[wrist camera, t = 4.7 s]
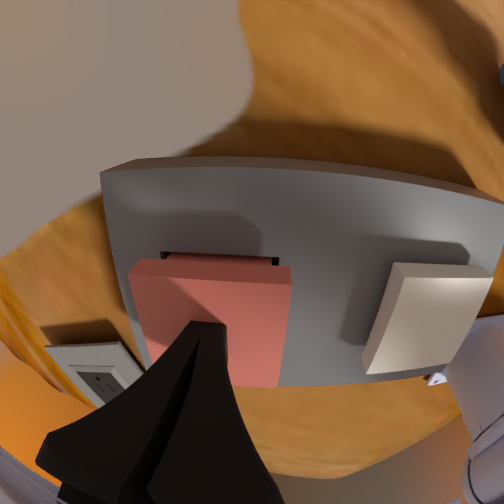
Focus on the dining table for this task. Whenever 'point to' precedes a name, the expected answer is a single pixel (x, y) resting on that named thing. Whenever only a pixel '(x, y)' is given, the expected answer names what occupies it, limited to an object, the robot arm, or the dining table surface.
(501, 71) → the grapes
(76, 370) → the electrical outlet
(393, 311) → the white plunger
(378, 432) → the dining table surface
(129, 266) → the panel
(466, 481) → the robot arm
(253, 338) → the red plunger
